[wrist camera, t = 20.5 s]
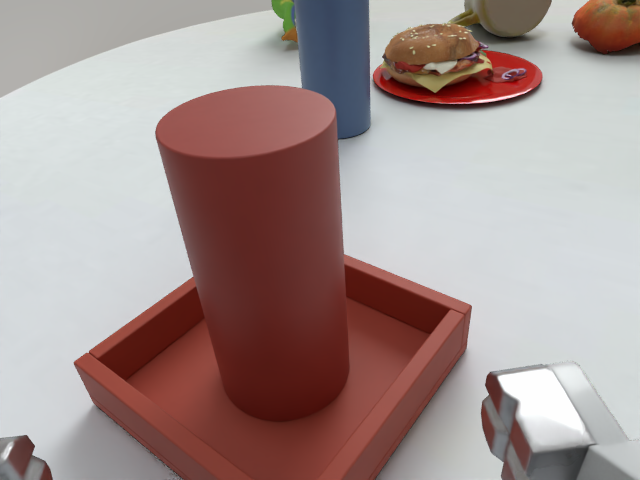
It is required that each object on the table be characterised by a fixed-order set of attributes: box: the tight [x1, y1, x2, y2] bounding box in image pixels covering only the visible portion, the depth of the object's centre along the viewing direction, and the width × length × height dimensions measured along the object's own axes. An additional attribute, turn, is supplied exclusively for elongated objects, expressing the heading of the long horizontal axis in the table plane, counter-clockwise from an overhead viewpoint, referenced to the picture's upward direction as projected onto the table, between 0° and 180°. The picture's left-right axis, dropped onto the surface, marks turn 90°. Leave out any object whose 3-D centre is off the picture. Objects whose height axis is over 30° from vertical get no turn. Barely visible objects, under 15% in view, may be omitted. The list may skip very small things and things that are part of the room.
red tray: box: [74, 254, 472, 480], centre depth 19 cm, size 10×10×2 cm
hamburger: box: [373, 22, 542, 104], centre depth 44 cm, size 14×14×6 cm
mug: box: [447, 0, 552, 37], centre depth 54 cm, size 8×10×10 cm
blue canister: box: [294, 0, 371, 139], centre depth 36 cm, size 5×5×10 cm
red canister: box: [155, 85, 350, 421], centre depth 17 cm, size 5×5×10 cm
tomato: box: [572, 0, 640, 54], centre depth 49 cm, size 8×7×7 cm
